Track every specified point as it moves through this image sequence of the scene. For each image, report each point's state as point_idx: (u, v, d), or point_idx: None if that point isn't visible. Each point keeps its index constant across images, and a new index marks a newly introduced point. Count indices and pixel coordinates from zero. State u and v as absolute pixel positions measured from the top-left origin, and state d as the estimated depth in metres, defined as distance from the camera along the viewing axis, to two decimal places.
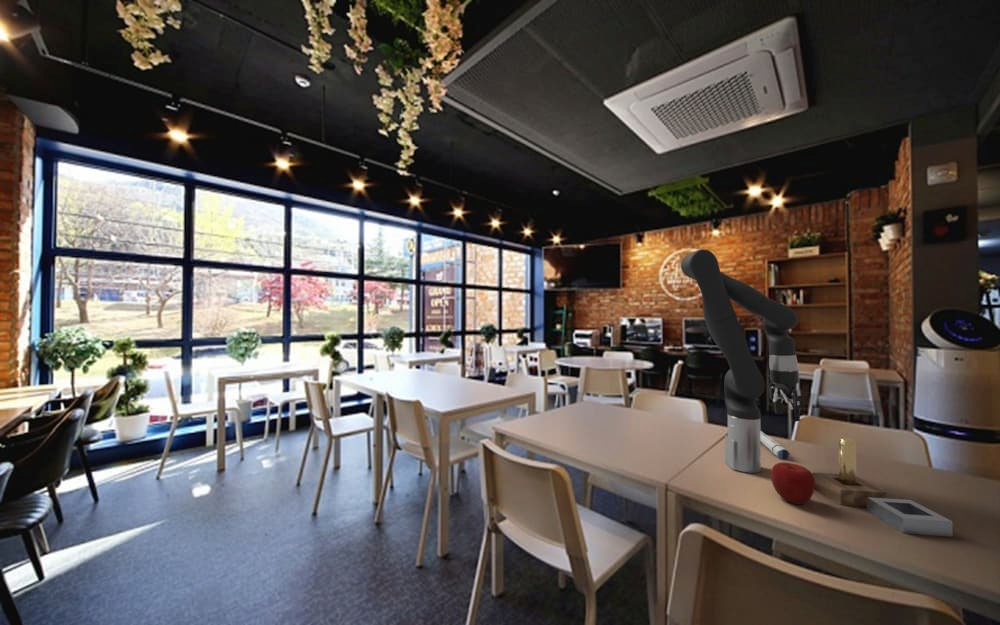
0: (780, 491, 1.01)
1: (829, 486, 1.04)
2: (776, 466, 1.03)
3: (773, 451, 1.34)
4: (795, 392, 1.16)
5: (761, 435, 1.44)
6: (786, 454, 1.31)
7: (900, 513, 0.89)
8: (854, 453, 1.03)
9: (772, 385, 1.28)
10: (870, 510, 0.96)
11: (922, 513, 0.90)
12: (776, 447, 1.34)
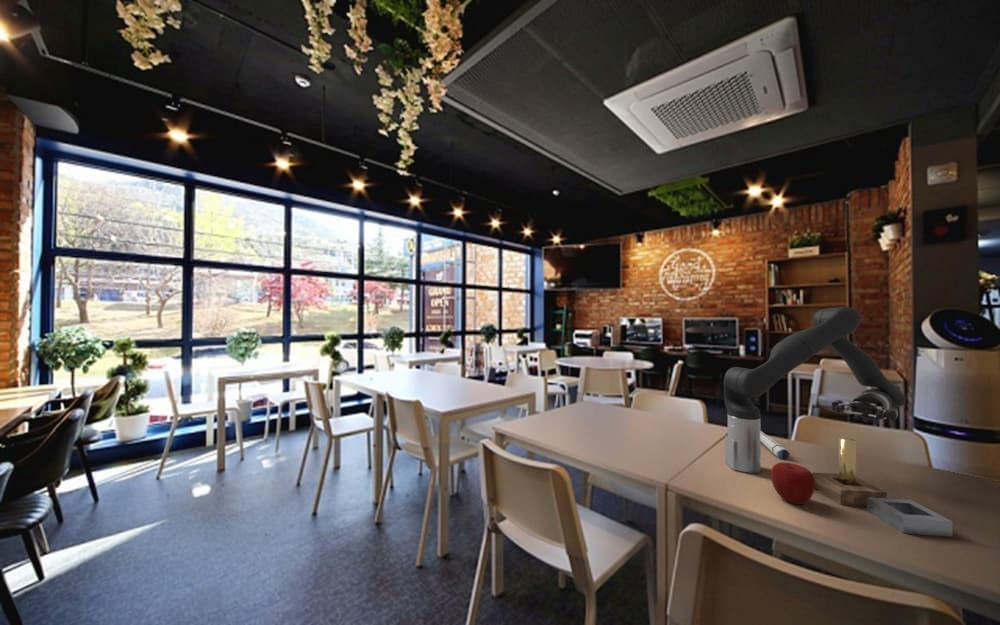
0: (780, 491, 1.01)
1: (829, 486, 1.04)
2: (776, 466, 1.03)
3: (773, 451, 1.34)
4: (897, 409, 1.11)
5: (761, 435, 1.44)
6: (786, 454, 1.31)
7: (900, 513, 0.89)
8: (854, 453, 1.03)
9: None
10: (870, 510, 0.96)
11: (922, 513, 0.90)
12: (776, 447, 1.33)
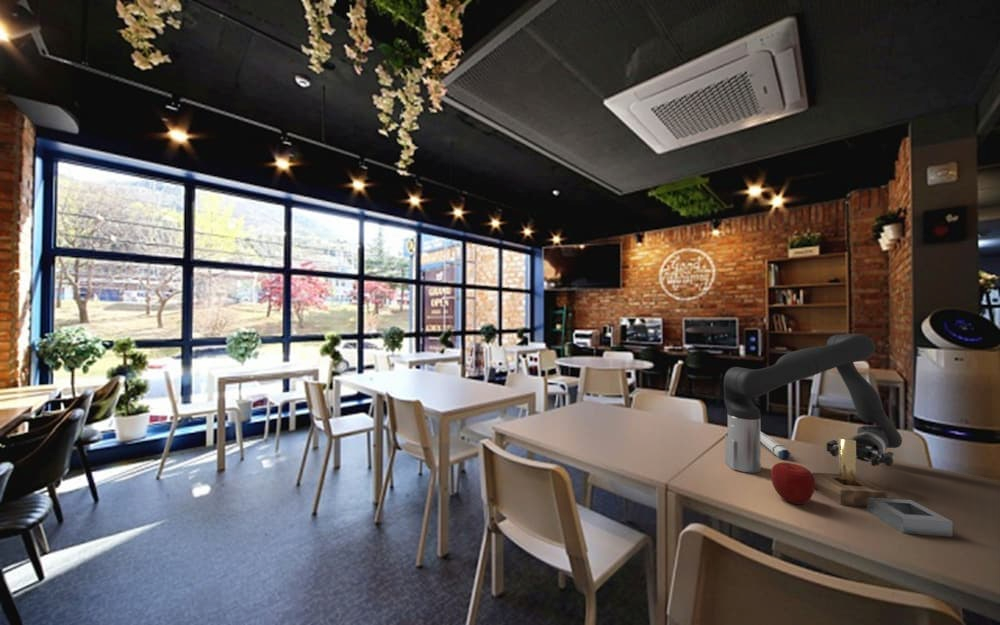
0: (780, 491, 1.01)
1: (829, 486, 1.04)
2: (776, 466, 1.03)
3: (774, 451, 1.34)
4: (893, 454, 1.08)
5: (761, 435, 1.44)
6: (787, 454, 1.31)
7: (900, 513, 0.89)
8: (854, 453, 1.03)
9: None
10: (870, 510, 0.96)
11: (922, 513, 0.90)
12: (777, 447, 1.33)
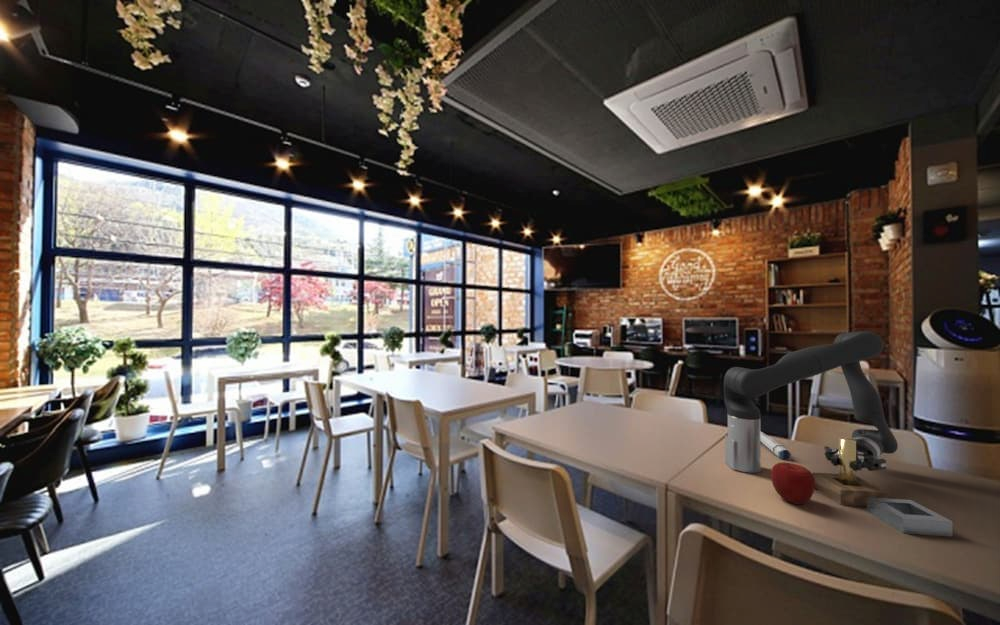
0: (780, 491, 1.01)
1: (829, 486, 1.04)
2: (776, 466, 1.03)
3: (774, 451, 1.34)
4: (885, 461, 1.03)
5: (761, 435, 1.43)
6: (787, 454, 1.31)
7: (900, 513, 0.89)
8: (854, 453, 1.03)
9: None
10: (870, 510, 0.96)
11: (922, 513, 0.90)
12: (777, 447, 1.33)
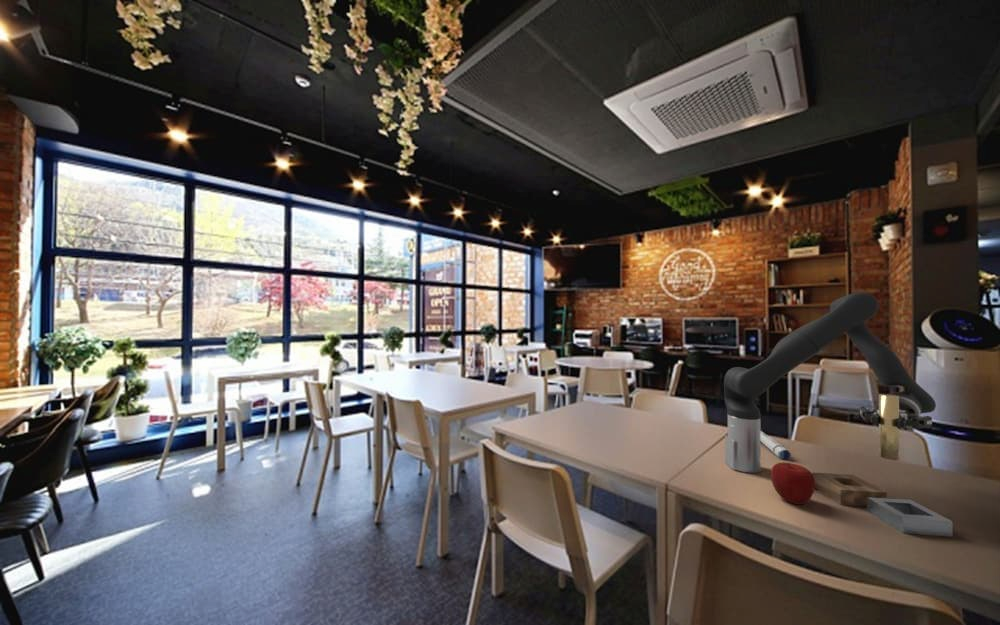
0: (780, 491, 1.01)
1: (829, 486, 1.04)
2: (776, 466, 1.03)
3: (774, 451, 1.34)
4: (931, 418, 0.94)
5: (762, 435, 1.43)
6: (787, 454, 1.30)
7: (900, 513, 0.89)
8: (897, 410, 0.94)
9: None
10: (870, 510, 0.96)
11: (922, 513, 0.90)
12: (777, 447, 1.33)
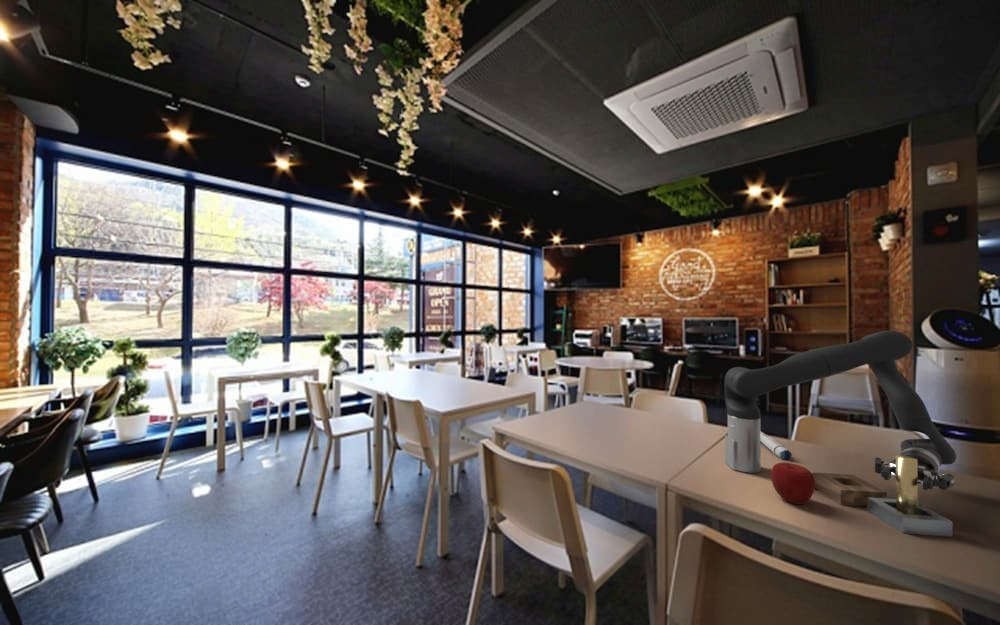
0: (780, 491, 1.01)
1: (829, 486, 1.04)
2: (776, 466, 1.03)
3: (775, 452, 1.33)
4: (953, 477, 0.90)
5: (762, 436, 1.43)
6: (788, 455, 1.30)
7: (900, 513, 0.89)
8: (916, 474, 0.89)
9: None
10: (870, 510, 0.96)
11: (922, 513, 0.90)
12: (778, 448, 1.33)
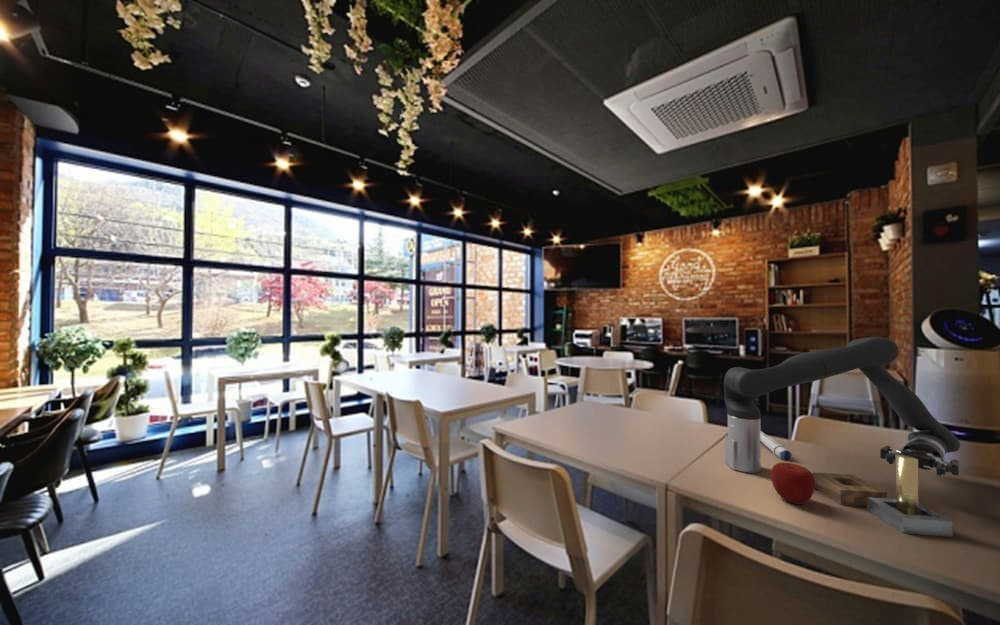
0: (780, 491, 1.01)
1: (829, 486, 1.04)
2: (776, 466, 1.03)
3: (775, 452, 1.33)
4: None
5: (762, 436, 1.43)
6: (788, 455, 1.30)
7: (900, 513, 0.89)
8: (916, 474, 0.90)
9: None
10: (870, 510, 0.96)
11: (922, 513, 0.90)
12: (778, 448, 1.33)
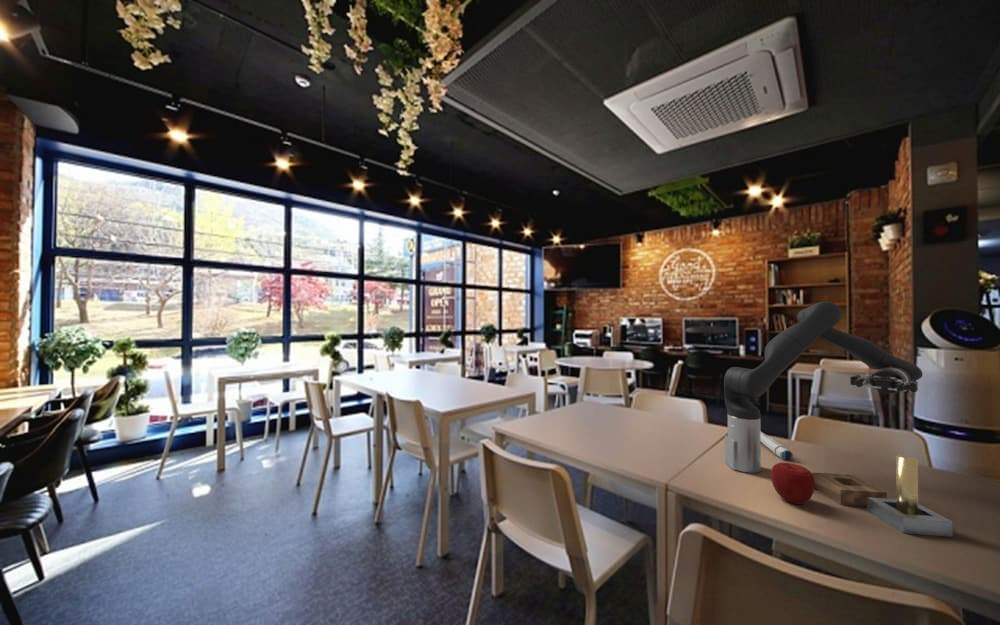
0: (780, 491, 1.01)
1: (829, 486, 1.04)
2: (776, 466, 1.03)
3: (776, 452, 1.33)
4: (917, 382, 1.10)
5: (762, 436, 1.43)
6: (789, 455, 1.30)
7: (900, 513, 0.89)
8: (916, 474, 0.90)
9: (860, 377, 1.20)
10: (870, 510, 0.96)
11: (922, 513, 0.90)
12: (779, 448, 1.32)
